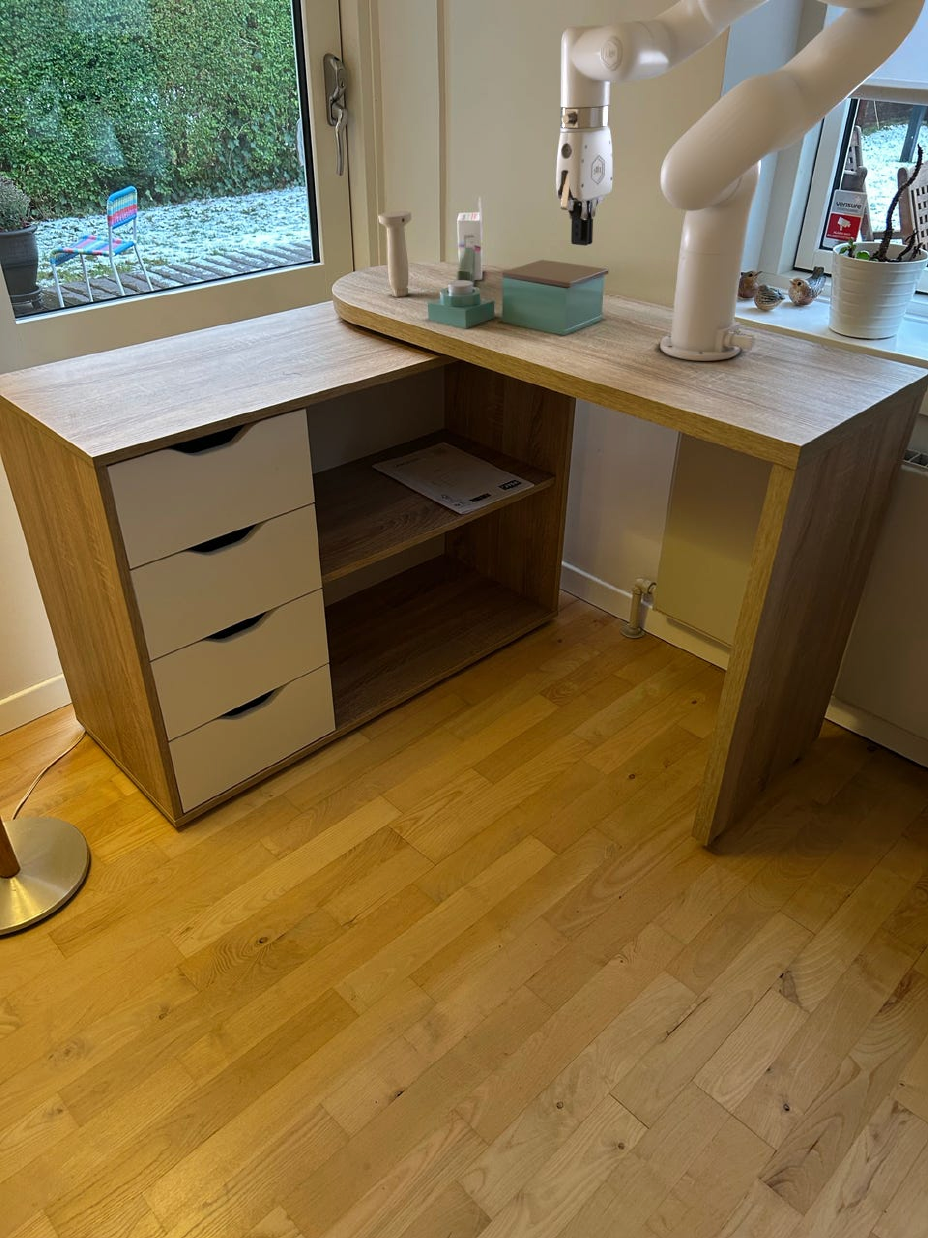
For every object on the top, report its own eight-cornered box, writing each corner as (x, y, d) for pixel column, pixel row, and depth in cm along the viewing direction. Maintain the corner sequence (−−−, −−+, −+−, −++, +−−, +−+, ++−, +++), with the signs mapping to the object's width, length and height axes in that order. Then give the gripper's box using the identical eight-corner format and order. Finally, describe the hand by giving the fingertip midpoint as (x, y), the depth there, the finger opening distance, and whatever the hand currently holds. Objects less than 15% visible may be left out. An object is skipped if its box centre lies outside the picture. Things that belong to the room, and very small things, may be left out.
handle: (419, 294, 181) (415, 212, 173) (395, 300, 177) (390, 217, 169) (404, 290, 184) (399, 209, 176) (379, 296, 180) (373, 214, 172)
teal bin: (601, 319, 163) (604, 274, 159) (564, 335, 156) (565, 288, 152) (540, 307, 171) (541, 264, 166) (502, 322, 163) (502, 276, 159)
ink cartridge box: (460, 270, 196) (458, 196, 188) (483, 270, 196) (482, 195, 187) (458, 280, 189) (456, 203, 181) (482, 280, 188) (481, 203, 180)
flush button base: (494, 318, 166) (494, 289, 163) (465, 328, 161) (465, 299, 158) (457, 310, 171) (456, 282, 168) (428, 320, 166) (427, 291, 163)
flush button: (478, 292, 163) (477, 282, 162) (462, 297, 160) (461, 287, 160) (459, 288, 166) (459, 278, 165) (443, 293, 163) (443, 283, 162)
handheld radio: (454, 307, 173) (462, 274, 193) (471, 307, 172) (477, 275, 193) (454, 270, 169) (462, 241, 190) (472, 270, 169) (478, 241, 189)
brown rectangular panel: (608, 273, 158) (608, 269, 158) (569, 287, 151) (569, 282, 151) (542, 263, 166) (542, 259, 166) (502, 276, 159) (502, 271, 159)
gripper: (576, 124, 136) (574, 254, 146) (630, 115, 145) (625, 238, 155) (536, 123, 140) (536, 249, 150) (591, 114, 149) (588, 234, 159)
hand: (581, 243), depth 153 cm, fingers closed
